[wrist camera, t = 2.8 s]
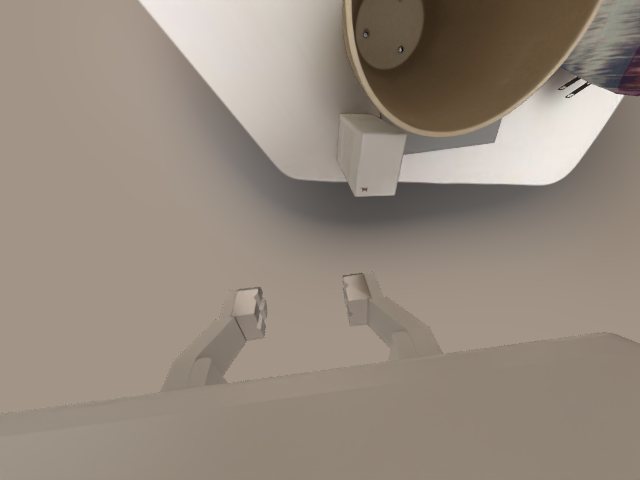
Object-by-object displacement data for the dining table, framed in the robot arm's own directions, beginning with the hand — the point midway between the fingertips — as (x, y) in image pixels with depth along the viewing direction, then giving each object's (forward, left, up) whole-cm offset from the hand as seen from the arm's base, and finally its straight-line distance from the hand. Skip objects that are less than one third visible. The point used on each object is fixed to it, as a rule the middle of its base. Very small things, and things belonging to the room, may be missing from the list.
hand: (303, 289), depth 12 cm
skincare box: (-7, -1, -25) cm, 26 cm away
